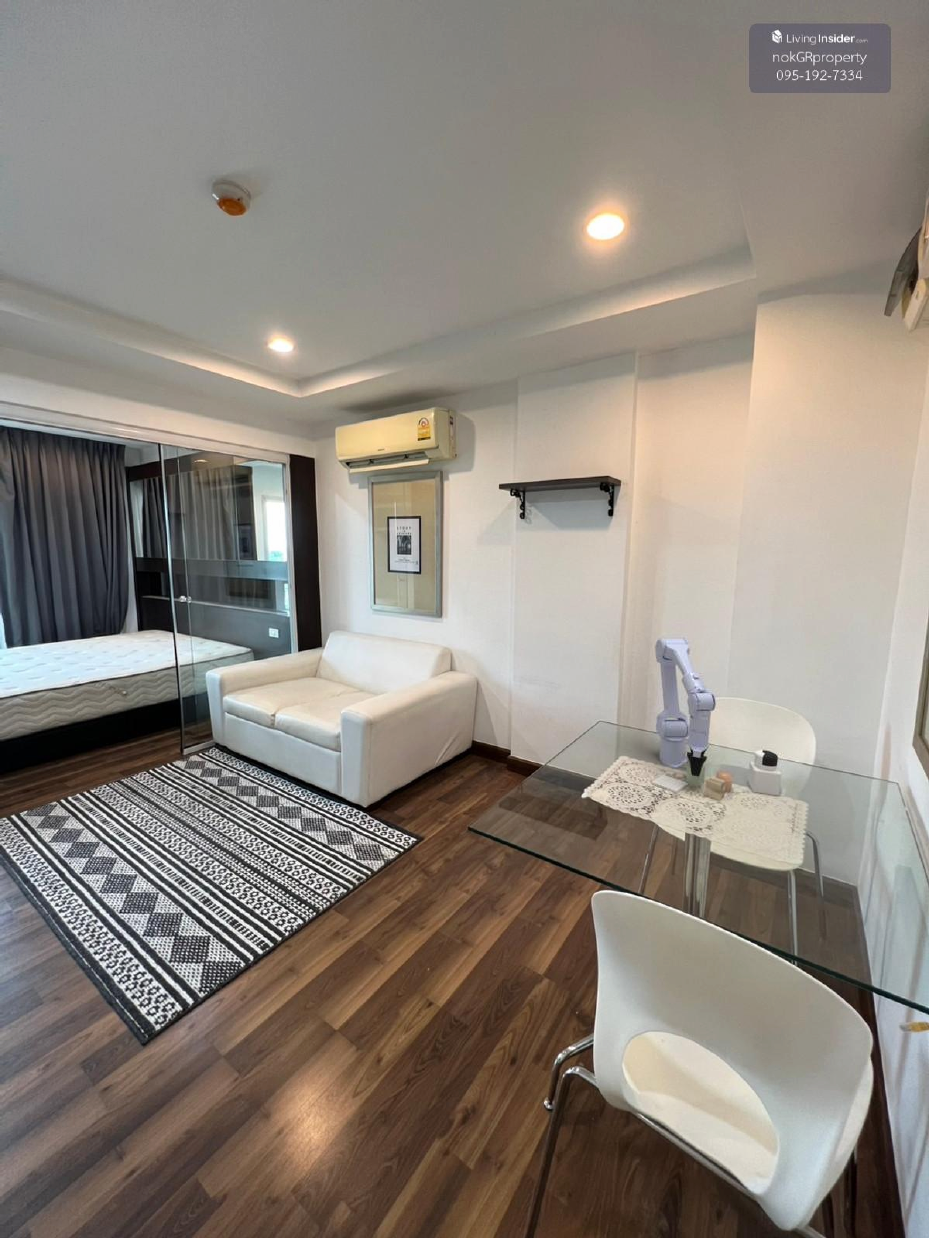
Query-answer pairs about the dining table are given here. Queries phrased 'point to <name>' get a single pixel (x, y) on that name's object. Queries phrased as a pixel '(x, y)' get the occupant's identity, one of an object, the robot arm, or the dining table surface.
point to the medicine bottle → (764, 773)
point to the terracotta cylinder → (725, 779)
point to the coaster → (669, 783)
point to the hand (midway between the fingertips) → (695, 770)
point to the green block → (695, 777)
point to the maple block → (715, 788)
